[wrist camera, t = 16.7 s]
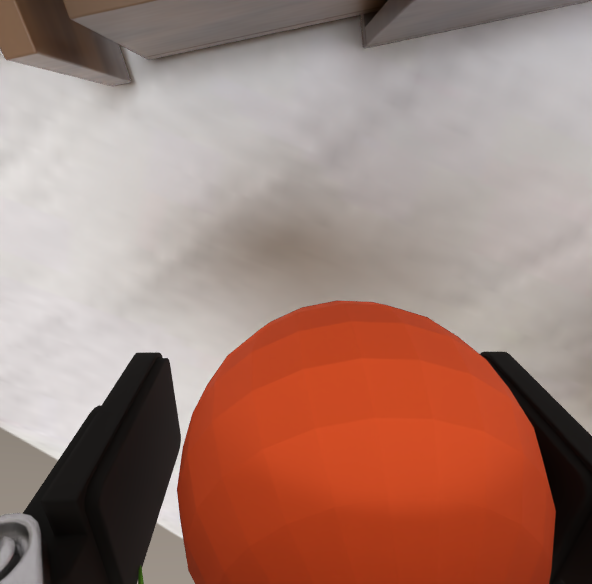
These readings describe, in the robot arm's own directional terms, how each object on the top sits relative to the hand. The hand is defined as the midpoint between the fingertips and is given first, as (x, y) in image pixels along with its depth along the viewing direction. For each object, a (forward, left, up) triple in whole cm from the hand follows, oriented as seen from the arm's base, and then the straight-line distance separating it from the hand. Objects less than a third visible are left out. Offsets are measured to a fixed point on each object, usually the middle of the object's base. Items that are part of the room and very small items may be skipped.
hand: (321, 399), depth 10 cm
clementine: (0, 0, -1) cm, 1 cm away
